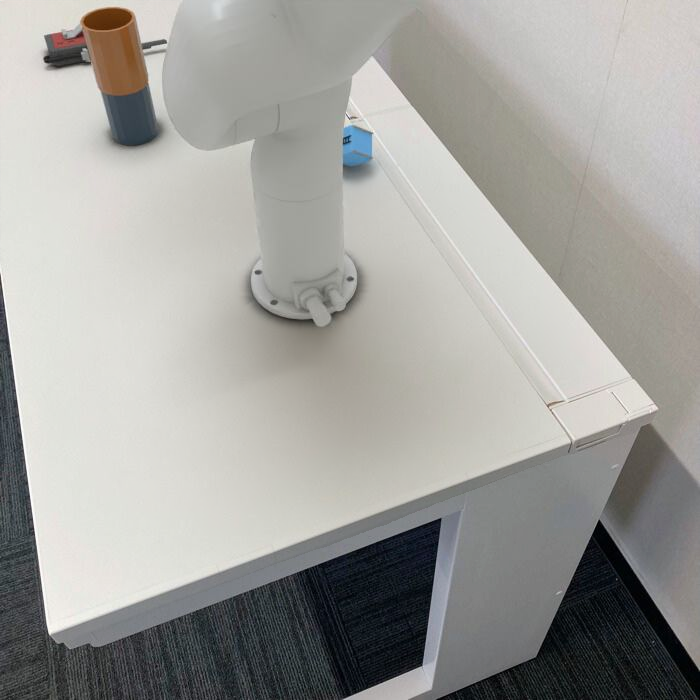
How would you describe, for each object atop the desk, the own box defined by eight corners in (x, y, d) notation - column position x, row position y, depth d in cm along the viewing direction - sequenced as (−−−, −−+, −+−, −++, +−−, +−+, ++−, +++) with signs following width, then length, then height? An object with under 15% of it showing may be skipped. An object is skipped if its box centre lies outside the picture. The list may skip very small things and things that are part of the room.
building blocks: (315, 180, 113) (374, 160, 105) (271, 166, 108) (330, 144, 99) (316, 128, 114) (374, 104, 106) (273, 112, 108) (331, 85, 100)
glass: (154, 89, 106) (140, 25, 100) (103, 100, 104) (85, 35, 98) (142, 65, 111) (128, 3, 104) (93, 76, 109) (75, 12, 102)
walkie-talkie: (48, 75, 124) (170, 52, 129) (39, 49, 121) (165, 26, 126) (41, 51, 130) (158, 29, 135) (33, 25, 127) (153, 4, 132)
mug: (163, 139, 112) (152, 88, 106) (118, 149, 111) (104, 99, 105) (147, 107, 118) (136, 57, 112) (104, 116, 116) (90, 67, 110)
